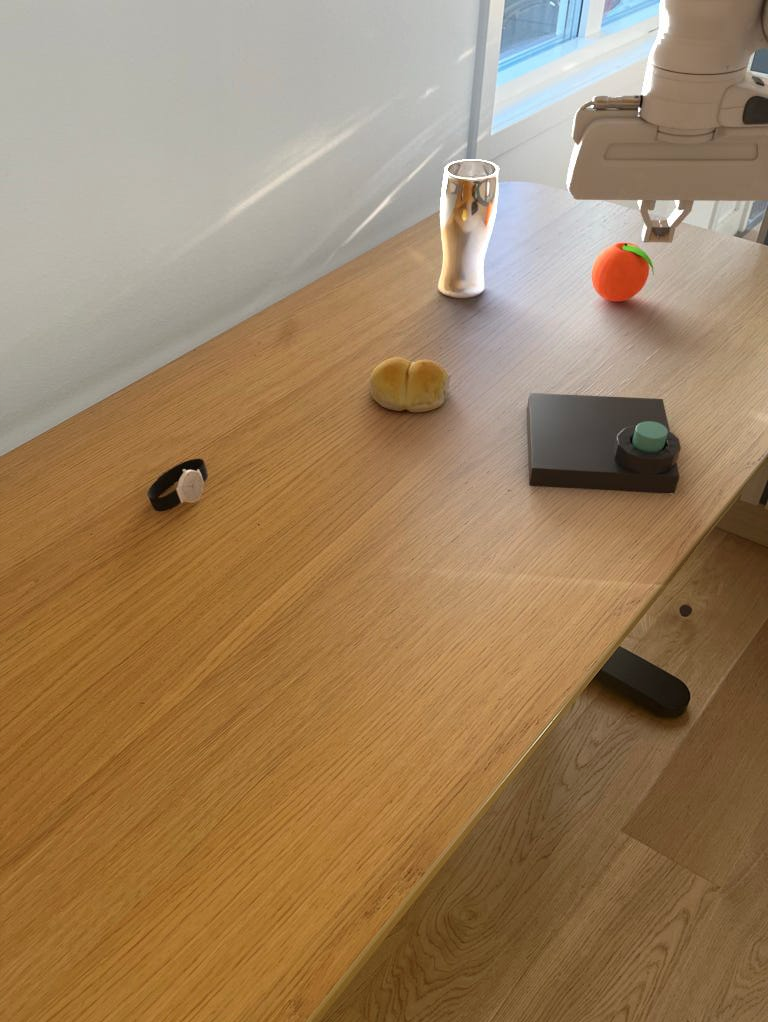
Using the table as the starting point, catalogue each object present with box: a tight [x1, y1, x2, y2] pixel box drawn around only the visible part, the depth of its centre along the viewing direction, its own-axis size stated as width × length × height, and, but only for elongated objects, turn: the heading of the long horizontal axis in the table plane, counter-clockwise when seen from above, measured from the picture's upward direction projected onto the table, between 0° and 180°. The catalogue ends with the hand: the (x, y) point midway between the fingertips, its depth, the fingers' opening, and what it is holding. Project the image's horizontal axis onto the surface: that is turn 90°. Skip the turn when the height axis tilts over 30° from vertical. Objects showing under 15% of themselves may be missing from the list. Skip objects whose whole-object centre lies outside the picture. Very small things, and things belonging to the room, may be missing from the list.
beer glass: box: [437, 159, 500, 299], centre depth 120 cm, size 7×7×15 cm
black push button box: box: [526, 392, 682, 495], centre depth 97 cm, size 14×14×4 cm
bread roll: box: [368, 356, 451, 413], centre depth 106 cm, size 8×9×4 cm
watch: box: [147, 458, 209, 512], centre depth 95 cm, size 8×5×4 cm, turn 147°
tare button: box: [632, 421, 668, 452], centre depth 92 cm, size 3×3×2 cm
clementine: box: [590, 241, 655, 302], centre depth 119 cm, size 8×7×7 cm
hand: (656, 240), depth 100 cm, fingers closed
